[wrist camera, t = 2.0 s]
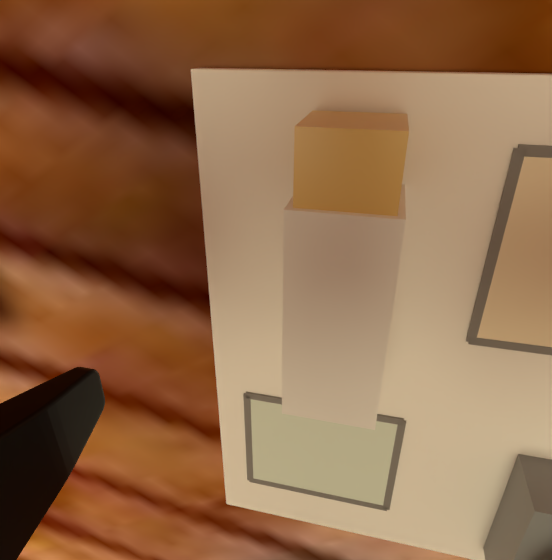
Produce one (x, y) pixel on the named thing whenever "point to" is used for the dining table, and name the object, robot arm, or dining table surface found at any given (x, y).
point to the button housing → (524, 514)
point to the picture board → (407, 303)
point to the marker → (341, 263)
